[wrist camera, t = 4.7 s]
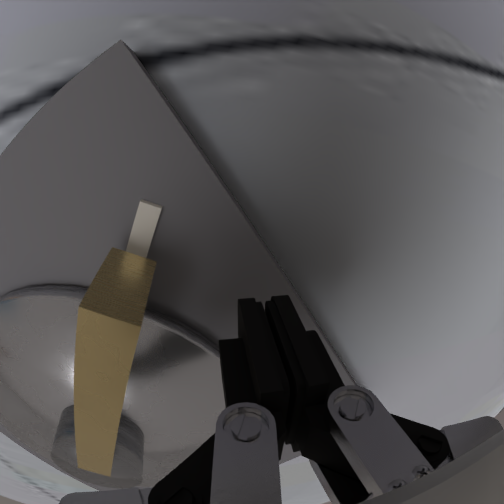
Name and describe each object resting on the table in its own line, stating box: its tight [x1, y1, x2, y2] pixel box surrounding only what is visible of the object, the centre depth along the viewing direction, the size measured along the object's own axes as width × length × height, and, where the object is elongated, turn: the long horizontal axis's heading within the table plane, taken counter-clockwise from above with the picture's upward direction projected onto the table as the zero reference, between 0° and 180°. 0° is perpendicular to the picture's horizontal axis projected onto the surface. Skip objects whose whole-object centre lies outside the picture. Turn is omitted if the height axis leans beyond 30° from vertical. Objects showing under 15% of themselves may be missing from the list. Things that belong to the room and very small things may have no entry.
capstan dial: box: [0, 247, 226, 489], centre depth 12 cm, size 20×18×4 cm
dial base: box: [0, 40, 356, 491], centre depth 15 cm, size 26×26×2 cm
